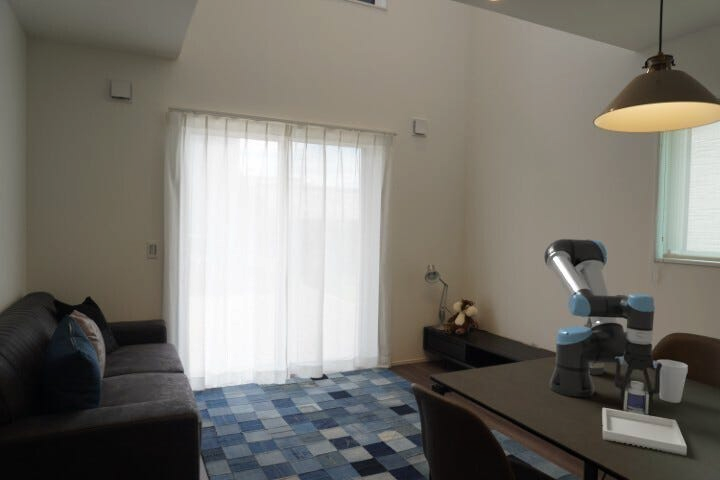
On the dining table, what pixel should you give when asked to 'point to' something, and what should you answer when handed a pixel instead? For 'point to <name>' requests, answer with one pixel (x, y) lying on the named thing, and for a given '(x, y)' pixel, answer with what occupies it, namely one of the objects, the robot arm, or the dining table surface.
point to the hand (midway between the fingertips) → (635, 410)
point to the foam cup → (672, 380)
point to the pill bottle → (636, 398)
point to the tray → (643, 431)
